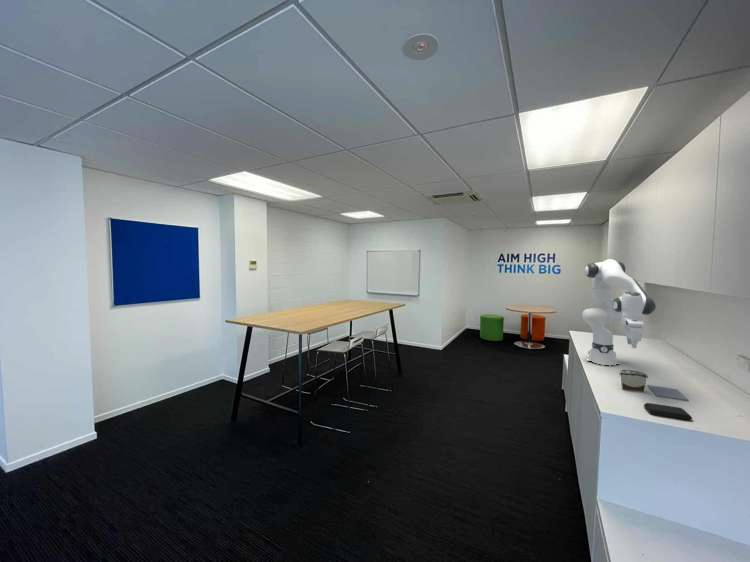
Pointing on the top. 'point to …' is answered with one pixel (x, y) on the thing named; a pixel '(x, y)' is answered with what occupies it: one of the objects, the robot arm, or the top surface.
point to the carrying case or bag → (667, 411)
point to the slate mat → (667, 393)
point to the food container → (633, 380)
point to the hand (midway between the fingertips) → (631, 346)
